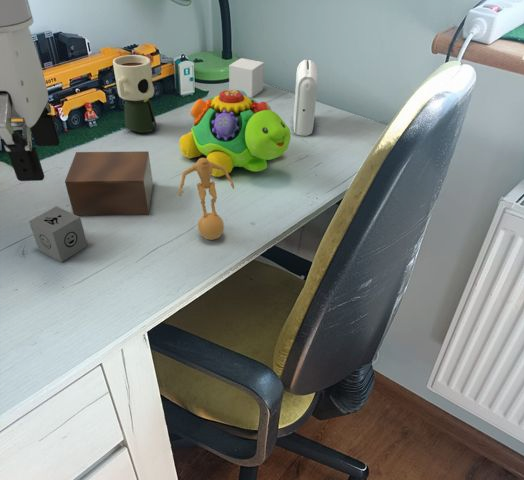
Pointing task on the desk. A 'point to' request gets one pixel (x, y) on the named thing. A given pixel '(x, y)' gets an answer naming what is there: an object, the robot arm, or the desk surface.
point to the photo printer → (305, 97)
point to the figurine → (209, 222)
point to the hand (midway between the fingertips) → (40, 161)
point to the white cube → (246, 76)
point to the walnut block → (110, 183)
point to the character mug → (135, 91)
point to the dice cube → (58, 233)
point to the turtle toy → (235, 132)
